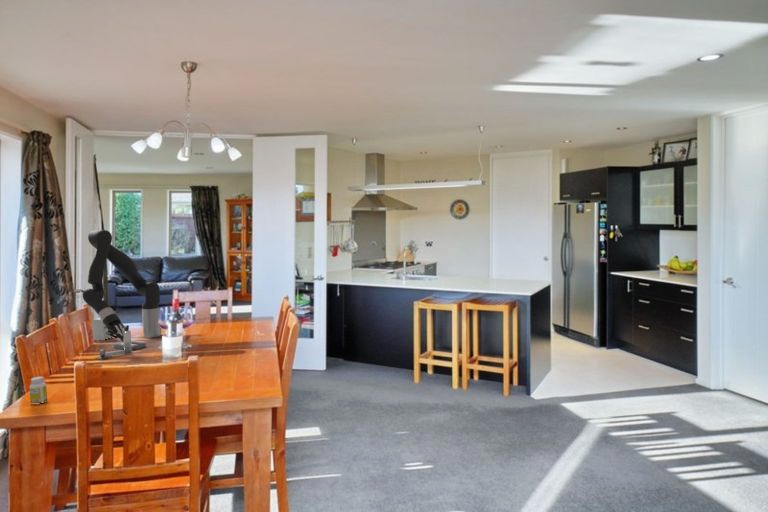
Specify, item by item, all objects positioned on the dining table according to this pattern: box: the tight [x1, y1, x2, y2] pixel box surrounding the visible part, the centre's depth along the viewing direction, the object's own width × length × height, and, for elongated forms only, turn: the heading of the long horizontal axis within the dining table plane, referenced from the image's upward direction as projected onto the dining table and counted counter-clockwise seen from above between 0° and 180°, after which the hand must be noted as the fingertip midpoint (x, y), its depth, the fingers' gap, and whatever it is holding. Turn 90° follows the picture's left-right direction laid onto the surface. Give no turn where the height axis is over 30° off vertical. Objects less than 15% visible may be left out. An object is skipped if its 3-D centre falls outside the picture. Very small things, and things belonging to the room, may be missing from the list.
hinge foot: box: [96, 356, 113, 361], centre depth 260 cm, size 6×6×1 cm
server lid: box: [113, 340, 147, 351], centre depth 281 cm, size 9×14×2 cm, turn 65°
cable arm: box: [99, 330, 133, 357], centre depth 264 cm, size 14×4×11 cm, turn 126°
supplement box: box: [92, 317, 113, 342], centre depth 303 cm, size 7×7×13 cm
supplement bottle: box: [29, 376, 48, 404], centre depth 195 cm, size 5×5×10 cm
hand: (126, 342), depth 269 cm, fingers closed
